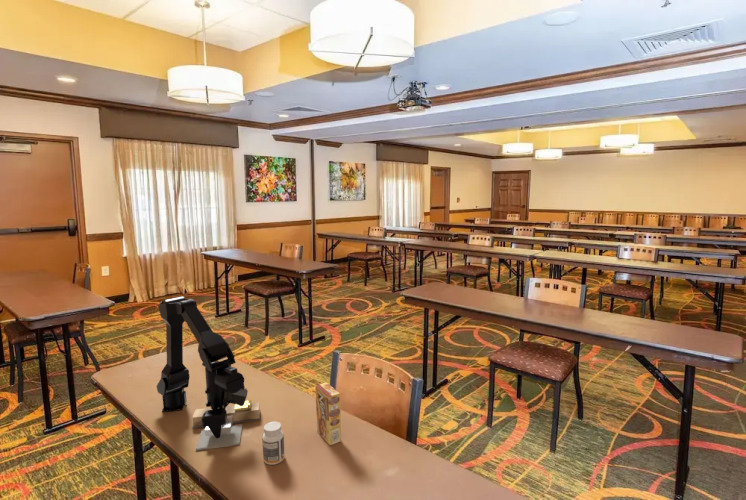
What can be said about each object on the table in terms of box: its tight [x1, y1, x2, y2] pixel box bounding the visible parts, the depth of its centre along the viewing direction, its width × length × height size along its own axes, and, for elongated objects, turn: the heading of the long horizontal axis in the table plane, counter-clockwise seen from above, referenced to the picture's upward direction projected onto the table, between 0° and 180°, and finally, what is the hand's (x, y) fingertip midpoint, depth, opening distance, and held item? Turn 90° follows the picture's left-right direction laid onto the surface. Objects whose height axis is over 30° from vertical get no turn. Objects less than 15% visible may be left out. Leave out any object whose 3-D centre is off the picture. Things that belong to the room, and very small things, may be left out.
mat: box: [195, 424, 243, 452], centre depth 124 cm, size 12×10×1 cm
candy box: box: [315, 382, 342, 446], centre depth 123 cm, size 9×4×15 cm, turn 33°
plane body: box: [192, 401, 261, 429], centre depth 134 cm, size 20×5×4 cm, turn 103°
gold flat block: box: [234, 399, 252, 411], centre depth 135 cm, size 1×4×5 cm
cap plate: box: [204, 415, 234, 436], centre depth 124 cm, size 7×6×2 cm
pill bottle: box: [261, 421, 285, 466], centre depth 114 cm, size 6×6×10 cm
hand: (219, 431), depth 124 cm, fingers closed on cap plate, 6 cm apart
